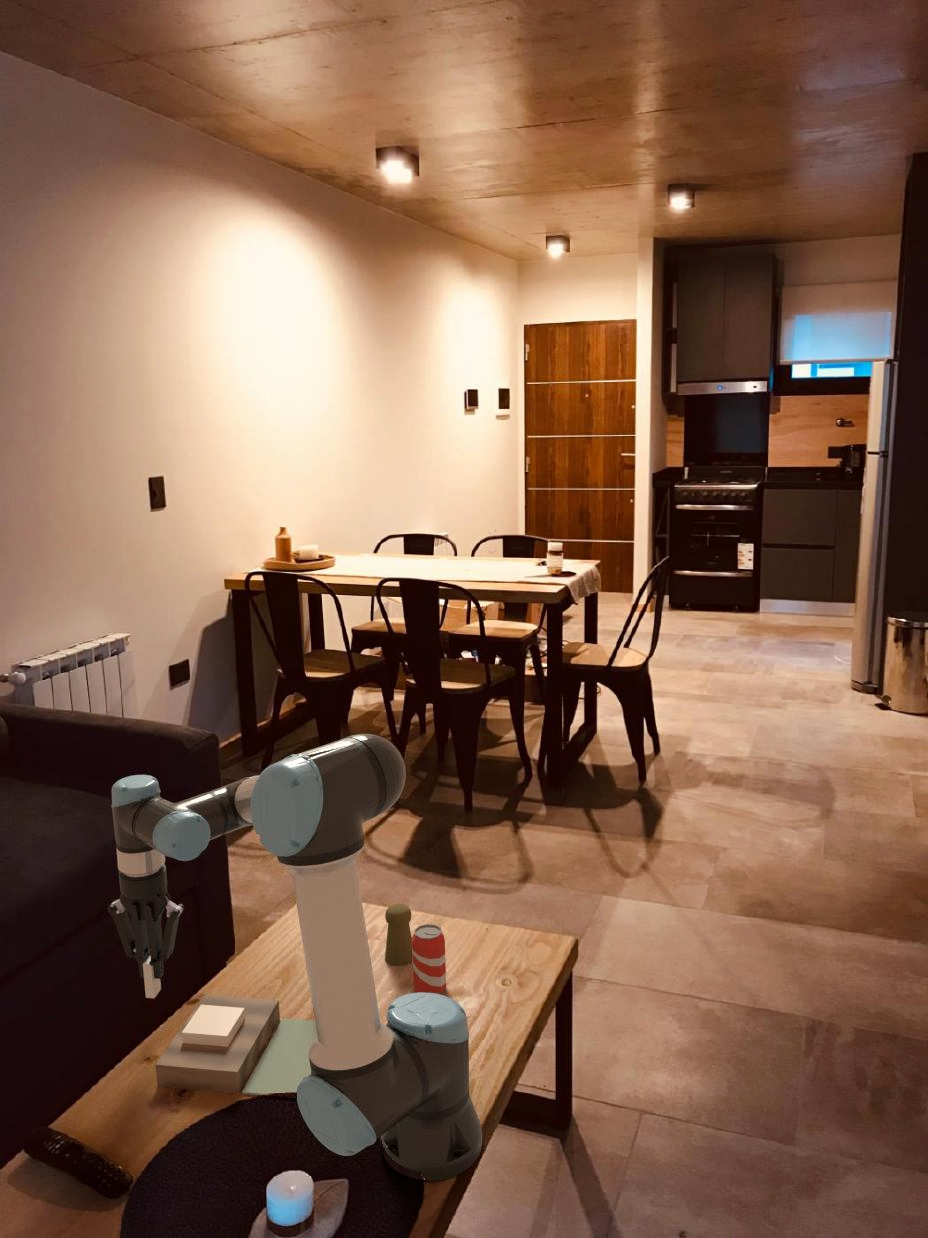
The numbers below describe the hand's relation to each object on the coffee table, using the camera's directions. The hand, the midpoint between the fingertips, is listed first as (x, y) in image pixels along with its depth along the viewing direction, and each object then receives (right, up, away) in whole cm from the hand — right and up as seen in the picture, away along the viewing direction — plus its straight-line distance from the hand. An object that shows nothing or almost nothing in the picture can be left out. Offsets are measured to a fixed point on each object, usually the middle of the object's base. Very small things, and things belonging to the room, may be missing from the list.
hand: (153, 993), depth 175 cm
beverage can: (+47, -6, +17) cm, 50 cm away
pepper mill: (+41, -3, +28) cm, 50 cm away
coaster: (+11, -6, 0) cm, 12 cm away
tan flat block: (+12, -10, 0) cm, 15 cm away
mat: (+27, -10, -2) cm, 29 cm away
